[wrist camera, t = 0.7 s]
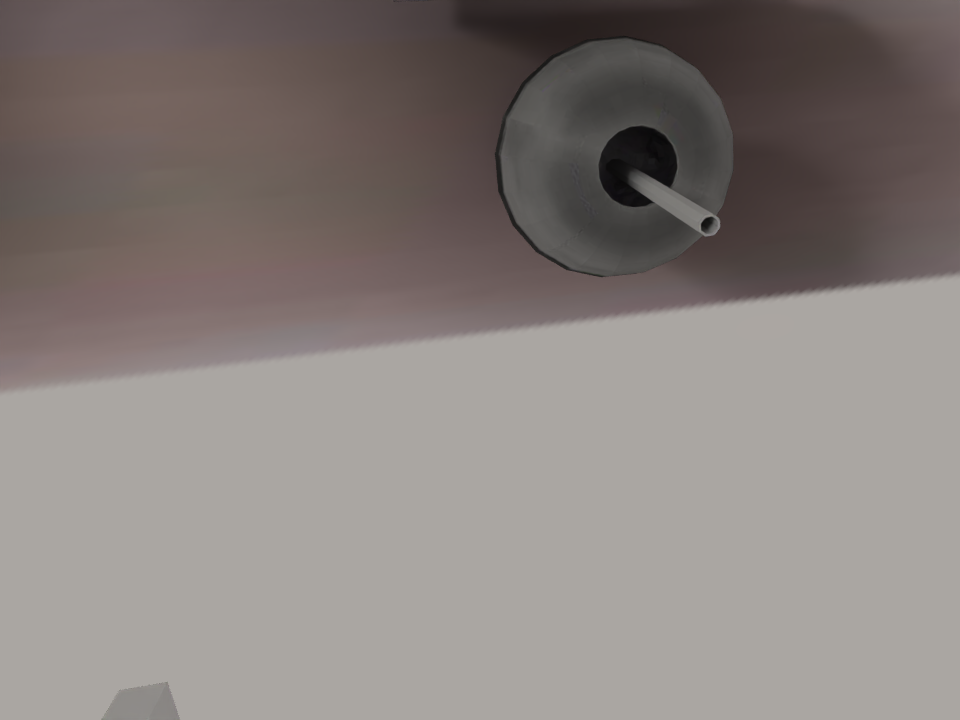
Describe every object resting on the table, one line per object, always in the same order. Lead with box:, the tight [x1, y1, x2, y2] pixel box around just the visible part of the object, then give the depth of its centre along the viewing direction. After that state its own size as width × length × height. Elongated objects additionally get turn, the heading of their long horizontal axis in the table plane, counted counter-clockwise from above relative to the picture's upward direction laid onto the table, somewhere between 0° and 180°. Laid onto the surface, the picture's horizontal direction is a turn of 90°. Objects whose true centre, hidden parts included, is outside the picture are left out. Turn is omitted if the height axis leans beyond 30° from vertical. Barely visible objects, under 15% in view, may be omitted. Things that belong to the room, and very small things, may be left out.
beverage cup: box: [495, 36, 733, 277], centre depth 27 cm, size 7×7×20 cm
